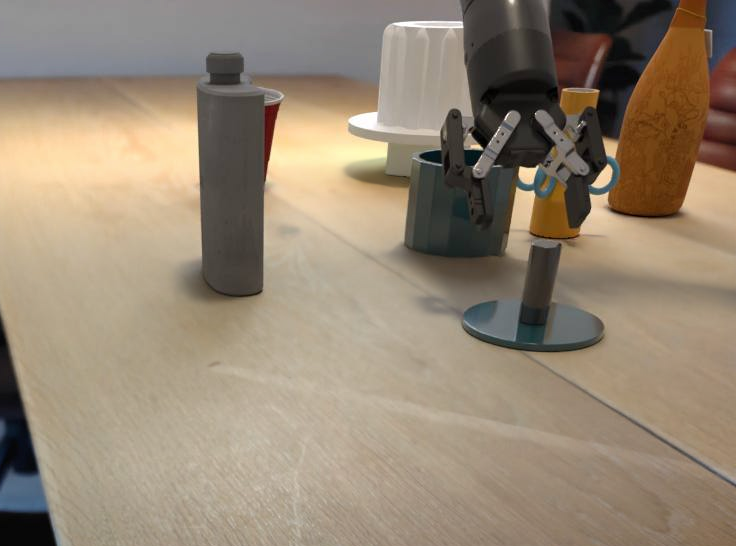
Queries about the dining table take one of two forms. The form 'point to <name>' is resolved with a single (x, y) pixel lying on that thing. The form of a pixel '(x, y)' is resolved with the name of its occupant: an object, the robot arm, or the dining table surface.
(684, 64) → the wine bottle
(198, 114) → the flask
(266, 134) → the plastic cup
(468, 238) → the pot
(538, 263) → the lid
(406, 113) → the flanged gear
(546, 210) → the cylinder
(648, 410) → the dining table surface
